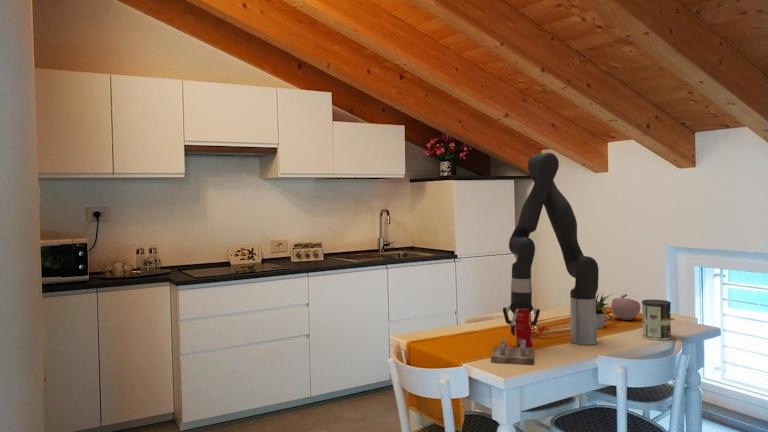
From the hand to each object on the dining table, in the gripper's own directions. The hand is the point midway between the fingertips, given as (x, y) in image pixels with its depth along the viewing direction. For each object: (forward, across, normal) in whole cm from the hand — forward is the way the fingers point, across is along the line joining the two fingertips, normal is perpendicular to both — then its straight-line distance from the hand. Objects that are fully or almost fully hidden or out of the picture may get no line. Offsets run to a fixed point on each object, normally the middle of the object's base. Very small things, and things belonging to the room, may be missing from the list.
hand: (521, 335), depth 212 cm
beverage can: (+5, -1, 0) cm, 5 cm away
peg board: (+5, +2, +15) cm, 16 cm away
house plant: (+4, -29, -40) cm, 50 cm away
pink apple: (+3, -44, -57) cm, 72 cm away
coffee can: (+4, -51, -26) cm, 57 cm away
